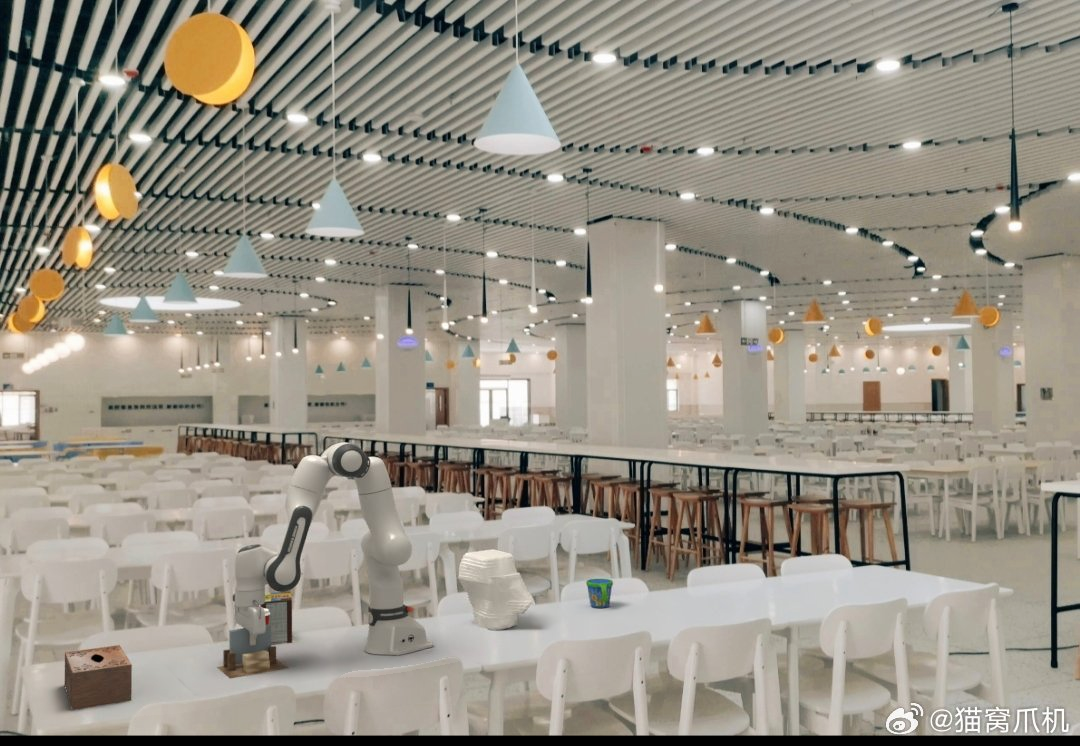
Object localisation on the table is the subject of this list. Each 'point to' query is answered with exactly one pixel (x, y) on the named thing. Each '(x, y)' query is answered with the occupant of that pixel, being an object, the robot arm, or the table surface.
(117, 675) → the tissue box cover
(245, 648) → the panel
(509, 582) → the white faceted lump
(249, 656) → the offcut upper
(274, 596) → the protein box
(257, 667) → the offcut lower
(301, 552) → the robot arm
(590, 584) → the snack cup
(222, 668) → the rack
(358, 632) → the table surface
